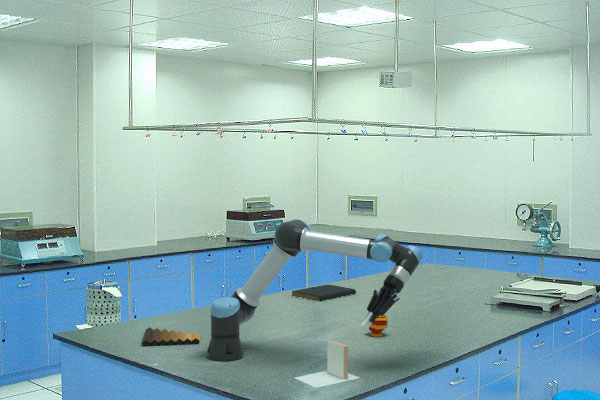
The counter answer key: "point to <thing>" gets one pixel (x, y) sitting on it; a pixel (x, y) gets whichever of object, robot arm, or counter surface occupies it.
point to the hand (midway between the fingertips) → (364, 328)
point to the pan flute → (168, 338)
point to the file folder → (323, 292)
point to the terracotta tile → (337, 359)
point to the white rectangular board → (323, 379)
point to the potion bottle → (378, 326)
